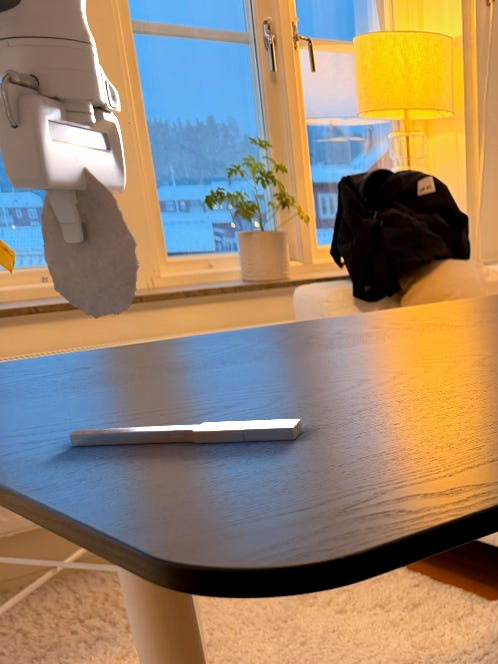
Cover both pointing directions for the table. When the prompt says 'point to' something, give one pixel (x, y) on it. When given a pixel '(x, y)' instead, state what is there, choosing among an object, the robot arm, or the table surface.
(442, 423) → the table surface
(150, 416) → the table surface
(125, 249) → the stone tool
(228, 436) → the grey long bar
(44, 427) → the table surface
